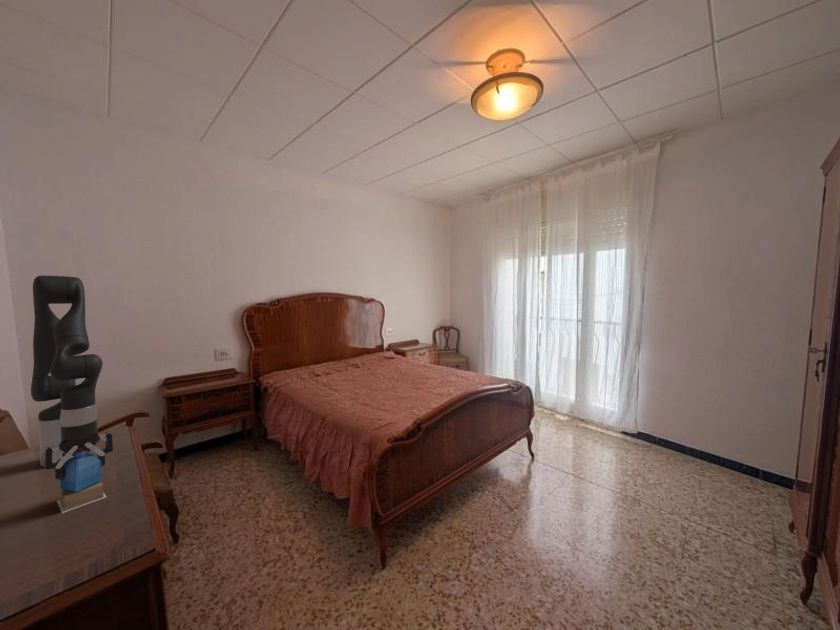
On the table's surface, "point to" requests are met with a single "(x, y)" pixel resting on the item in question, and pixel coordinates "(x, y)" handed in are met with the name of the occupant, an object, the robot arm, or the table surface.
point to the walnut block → (81, 496)
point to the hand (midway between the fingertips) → (81, 473)
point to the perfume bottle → (81, 471)
